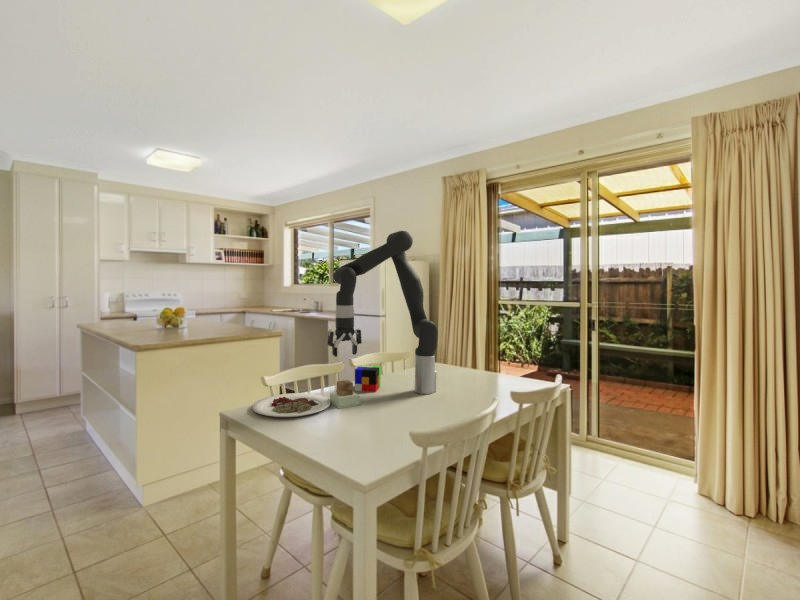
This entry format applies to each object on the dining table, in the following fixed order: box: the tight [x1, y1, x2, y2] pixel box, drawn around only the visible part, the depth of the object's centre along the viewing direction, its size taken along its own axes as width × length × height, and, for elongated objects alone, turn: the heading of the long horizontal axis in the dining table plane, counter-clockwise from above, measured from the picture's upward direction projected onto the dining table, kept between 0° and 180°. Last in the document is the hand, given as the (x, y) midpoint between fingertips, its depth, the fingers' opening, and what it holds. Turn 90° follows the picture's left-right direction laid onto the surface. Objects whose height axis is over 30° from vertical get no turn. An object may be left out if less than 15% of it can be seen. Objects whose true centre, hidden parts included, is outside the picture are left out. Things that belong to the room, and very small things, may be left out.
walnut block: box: [336, 379, 354, 396], centre depth 169 cm, size 5×5×5 cm
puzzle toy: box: [354, 364, 382, 393], centre depth 193 cm, size 10×10×10 cm
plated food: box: [252, 392, 331, 418], centre depth 163 cm, size 30×30×3 cm
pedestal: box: [329, 391, 362, 410], centre depth 169 cm, size 10×10×4 cm
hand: (344, 355), depth 168 cm, fingers open, 8 cm apart
